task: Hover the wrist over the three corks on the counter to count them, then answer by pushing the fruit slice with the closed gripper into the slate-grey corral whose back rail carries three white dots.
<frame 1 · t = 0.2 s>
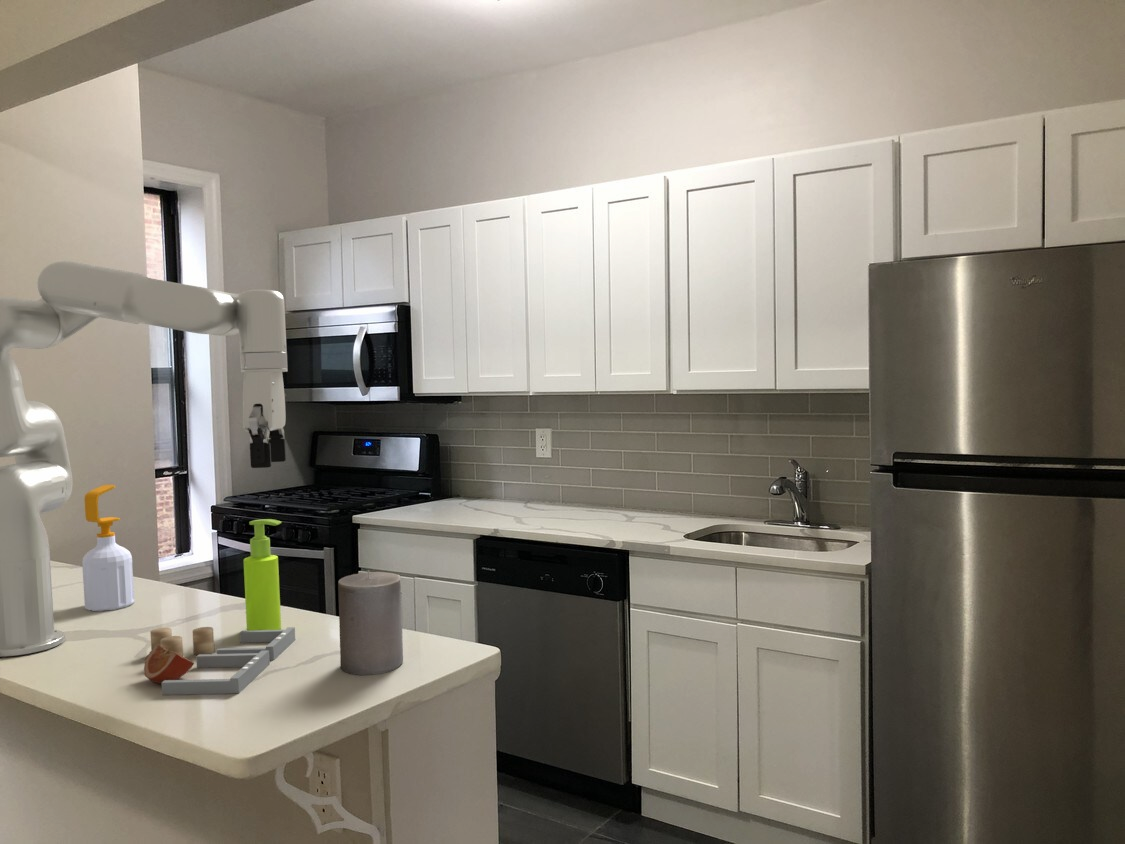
hand: (269, 464, 154), 31 cm above the worktop, tool pointing down, fingers open, 9 cm apart
pillar candle: (372, 666, 142), on the worktop
corral three: (217, 678, 137), on the worktop
fruit slice: (169, 681, 138), on the worktop
cork b: (172, 663, 146), on the worktop
soap bottle: (110, 606, 184), on the worktop
cork c: (204, 653, 151), on the worktop
corral two: (251, 650, 151), on the worktop
soap dispenser: (266, 631, 163), on the worktop
cork a: (162, 654, 151), on the worktop
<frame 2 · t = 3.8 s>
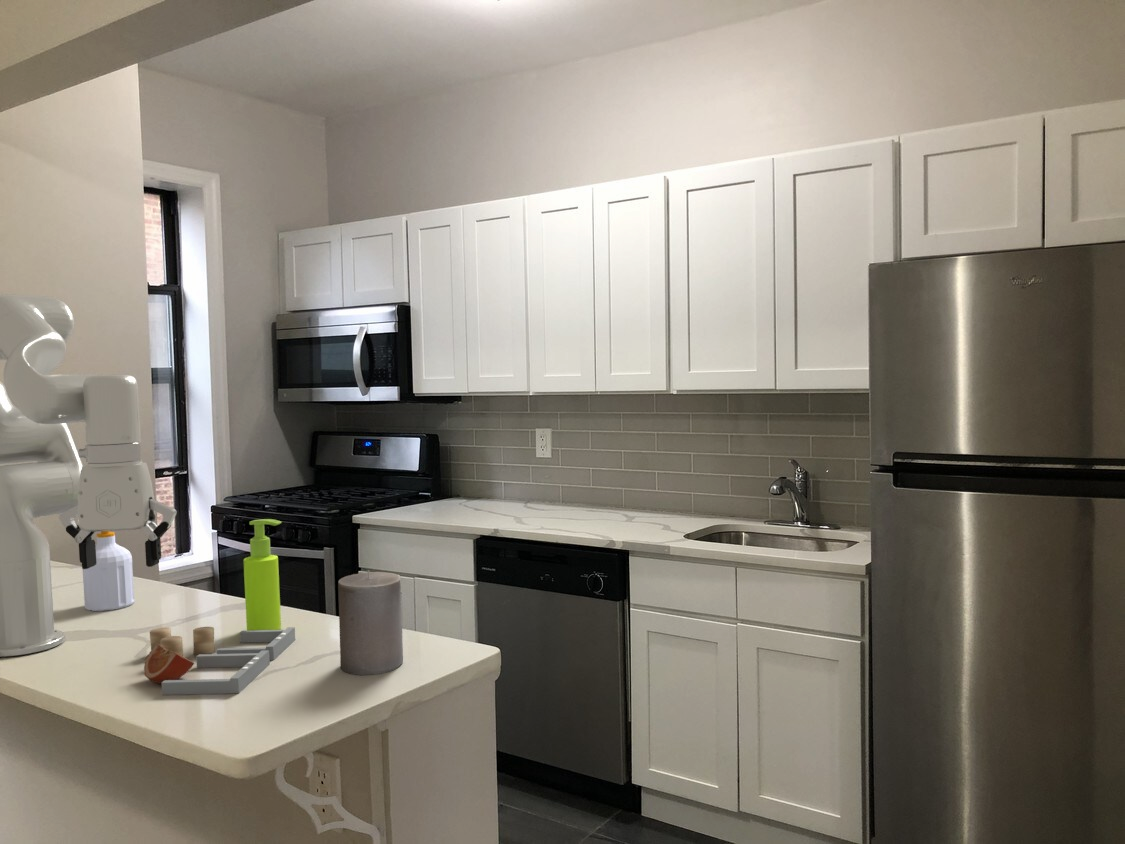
hand: (121, 566, 139), 17 cm above the worktop, tool pointing down, fingers open, 9 cm apart
nothing on the worktop moved.
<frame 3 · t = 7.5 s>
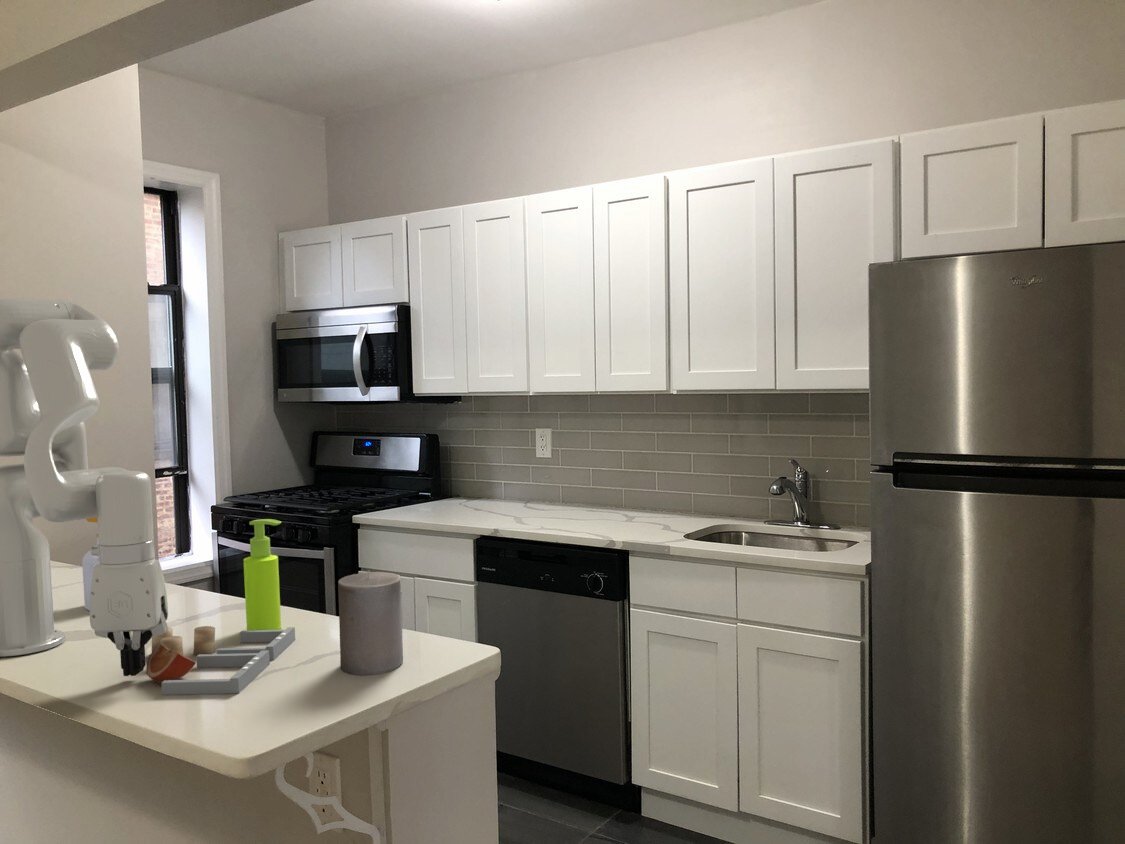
hand: (133, 672, 138), 1 cm above the worktop, tool pointing down, fingers closed
fruit slice: (171, 680, 138), on the worktop, touching gripper
everything else where it was.
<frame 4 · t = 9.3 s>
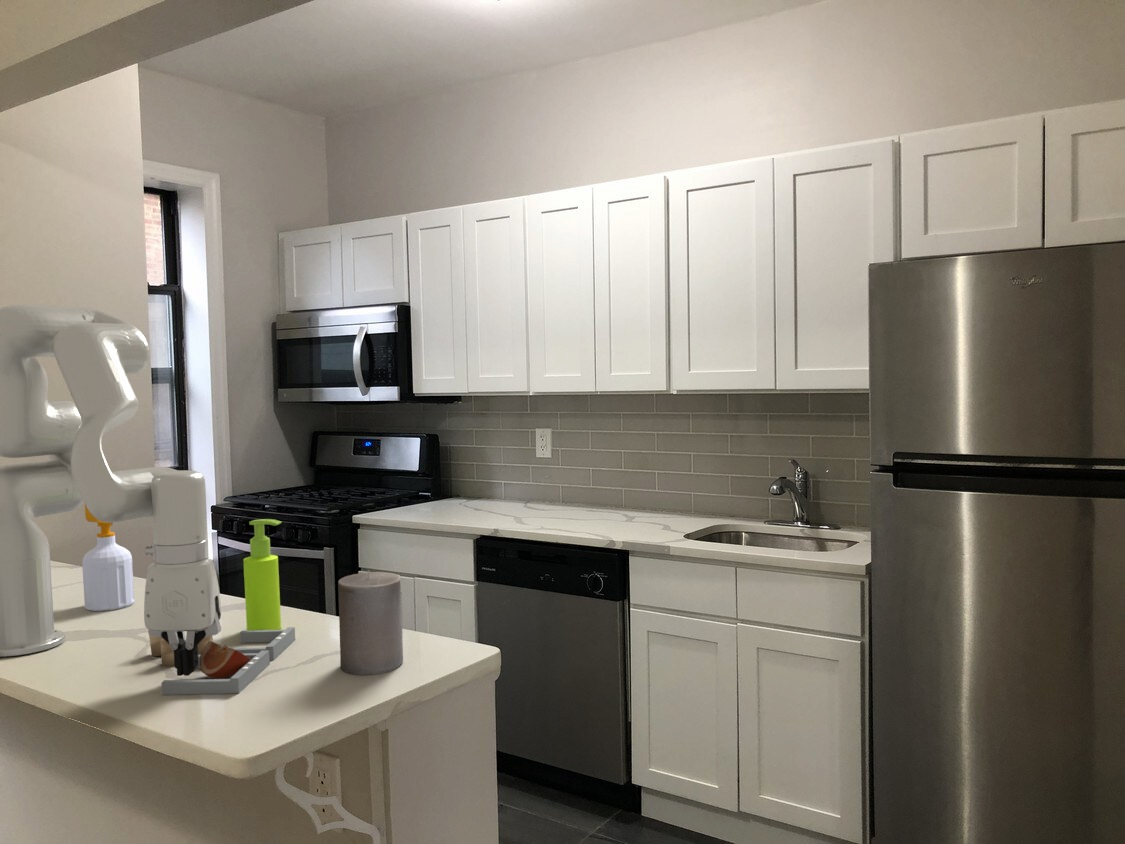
hand: (186, 672, 137), 1 cm above the worktop, tool pointing down, fingers closed
fruit slice: (225, 677, 139), resting in corral three, touching gripper
everything else where it was.
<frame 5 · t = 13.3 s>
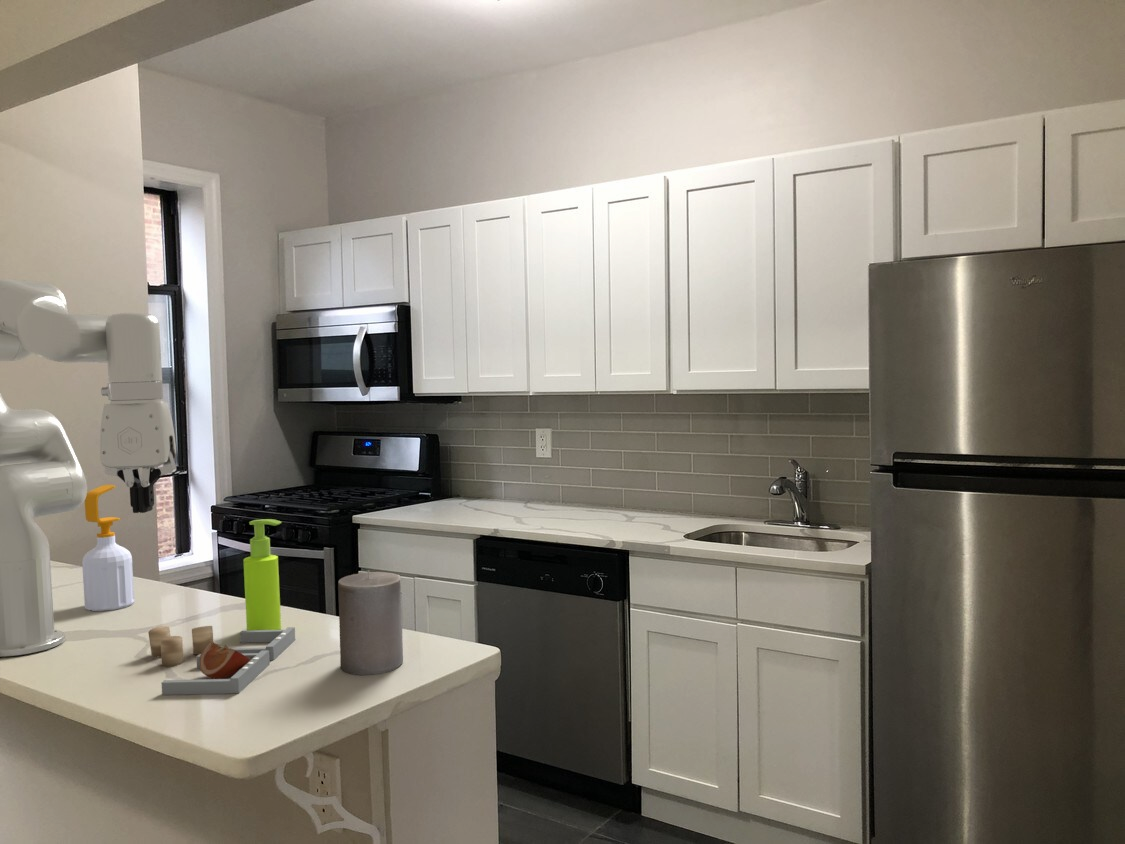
hand: (142, 511, 141), 25 cm above the worktop, tool pointing down, fingers closed
fruit slice: (225, 678, 139), resting in corral three
everything else where it was.
at the end: fruit slice inside the target area on the corral three (1.1 cm from its centre), point 0.0 cm above the corral three's base; fruit slice moved 8.2 cm from its start; cork c moved 0.2 cm from its start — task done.
